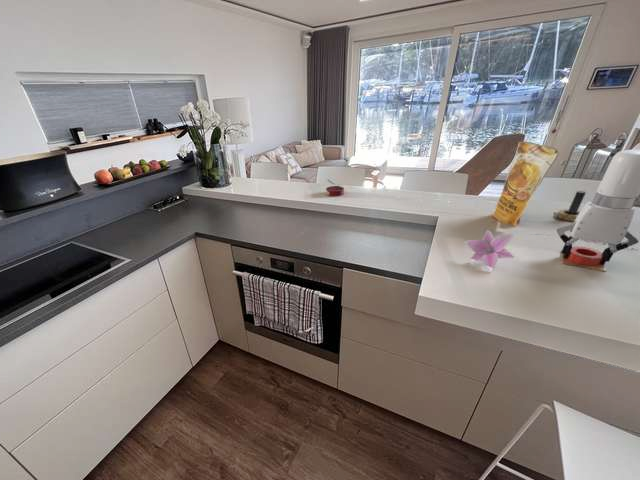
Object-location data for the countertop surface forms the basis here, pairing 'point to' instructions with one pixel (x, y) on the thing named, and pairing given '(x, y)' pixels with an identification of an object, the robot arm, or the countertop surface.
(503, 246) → the lily
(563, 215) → the bottom ring
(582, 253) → the top ring
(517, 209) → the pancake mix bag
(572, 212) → the post stand
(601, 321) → the countertop surface
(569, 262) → the cork mat
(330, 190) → the red bowl with spoon
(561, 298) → the countertop surface
